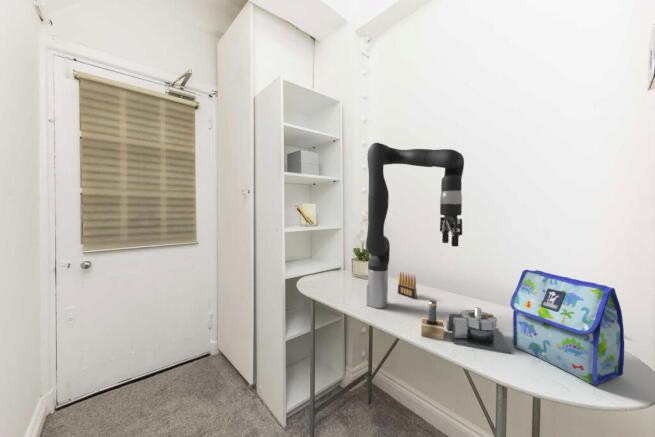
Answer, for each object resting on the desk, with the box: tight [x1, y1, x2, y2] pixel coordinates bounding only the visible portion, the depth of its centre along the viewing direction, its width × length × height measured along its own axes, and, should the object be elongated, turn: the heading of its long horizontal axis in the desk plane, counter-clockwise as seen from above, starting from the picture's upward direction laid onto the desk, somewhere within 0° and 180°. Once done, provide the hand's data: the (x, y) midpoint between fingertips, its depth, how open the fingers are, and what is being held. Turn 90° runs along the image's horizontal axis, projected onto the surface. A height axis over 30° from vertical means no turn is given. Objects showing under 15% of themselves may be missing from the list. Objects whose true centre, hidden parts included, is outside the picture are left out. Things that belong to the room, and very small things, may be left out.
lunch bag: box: [509, 269, 625, 387], centre depth 77 cm, size 22×17×26 cm
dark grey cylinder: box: [428, 299, 438, 326], centre depth 95 cm, size 3×3×12 cm
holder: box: [420, 316, 445, 341], centre depth 95 cm, size 7×7×4 cm
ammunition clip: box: [397, 271, 418, 300], centre depth 134 cm, size 11×2×12 cm, turn 35°
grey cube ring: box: [446, 309, 498, 338], centre depth 92 cm, size 11×15×7 cm
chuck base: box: [451, 307, 511, 354], centre depth 92 cm, size 16×16×10 cm
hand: (449, 244), depth 100 cm, fingers open, 8 cm apart
